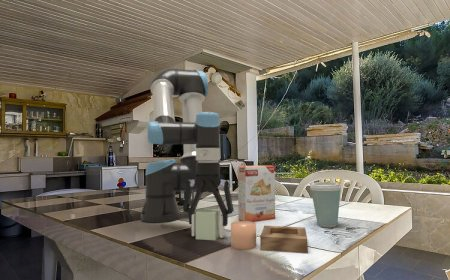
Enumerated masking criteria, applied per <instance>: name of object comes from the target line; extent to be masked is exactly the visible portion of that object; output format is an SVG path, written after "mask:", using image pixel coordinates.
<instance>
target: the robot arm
mask: <svg viewBox="0 0 450 280" xmlns="http://www.w3.org/2000/svg"><path fill="white" fill-rule="evenodd" d="M150 93H151V95H152V97H153V98H152V99H153V100H152V104H153V105H152V107H153V108H152V109H153V110H152V111H153V112H152V113H153V114H152V115H153V116H152V117H153V120H152V121H149V122H147V142H148V144H151V145H152V144H153V145H158V146H159V145H183V155H182V156H180V159H179V160H180V161H179V162H177V161H176V159H175V158H172V159H163V160H157V161H152V162H148V163H147V164H146V165H145V174H144V176H145V201H144V204H143V207H142V210H141V212H140V220H141V221H142V222H144V223H145V222H146V223H166V222H167V223H168V222H173V221H176V220H179V219H180V216H181V215H180V213H181V212H180V209H179V206H178V203H177V200H176V192H185V196H184V201H183V208H182V211H183V212H184V213H187V214H188V224H189V225H191V237H196V209H197V207H198V204H199V202H200V199H201V197H202V195H203V193H211V194H212V195H213V196H214V198H215V201H216V203H217V205H218V207H219V209H220V213H221V214H220V235H219V238H220V239H223V238H224V237H225V236H226V235H225V233H226V232H225V230H226V229H225V227H227V226H228V222H229V219H228V217H229V216H228V215H230V214H232V213H233V212H234V210H235V209H234V205H233V201H232V200H233V199H232V194H231V190H230V185H231V181H230V180H229V179H227V180H225V179H222V178H221V163H220V162H219V161H220V160H221V152H220V151H221V150H220V148H221V147H220V145H221V143H220V140H221V139H220V135H221V134H220V133H221V131H220V127H221V123H220V121H221V120H220V114H219V113H217V112H212V111H203V102H204V101H205V100H206V97H208V94H209V79H208V76H207V74H206V73H205V72H204V71H203V70H197V69H181V68H167V69H163V70H162V71H160V72H158V73H157V74H155V76H154V78H153V79H152V80H151V83H150ZM173 96H178V100H179V102H181V104H182V121H176V118H175V109H174V100H173ZM220 185H221V186H222V187H223V192H224V196H225V202H224V200H223V197H222V196H221V193H220V190H219V187H220ZM193 191H196V192H195V193H196V194H195V196H194V198H193V200H192V194H193ZM191 200H192V202H191Z"/></svg>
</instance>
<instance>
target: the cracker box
mask: <svg viewBox="0 0 450 280" xmlns="http://www.w3.org/2000/svg"><path fill="white" fill-rule="evenodd" d="M237 169H238V170H237V171H238V172H237V173H238V174H237V175H238V177H237V178H238V179H237V180H238V181H237V183H238V184H237V188H238V192H237V193H238V195H237V198H238V199H237V200H238V203H237V204H238V206H237V207H238V208H237V211H238V215H237V217H238V218H237V219H238V221H251V222H257V221H264V220H265V221H267V220H274V219H276V166H275V165H241V166H240V165H238V167H237Z"/></svg>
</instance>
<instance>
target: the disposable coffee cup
mask: <svg viewBox="0 0 450 280" xmlns="http://www.w3.org/2000/svg"><path fill="white" fill-rule="evenodd" d="M309 188H310V191H311V197H312V202H313V207H314V211H315V213H314V214H315V217H316V223H317V224H318V227H321V228H335V227H337V225H338V223H339V211H340V210H339V209H340V200H341V190H342V188H341V186H340V184H339V182H335V181H319V182H318V181H317V182H313V183H311V185H310V187H309Z"/></svg>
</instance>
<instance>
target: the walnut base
mask: <svg viewBox="0 0 450 280" xmlns="http://www.w3.org/2000/svg"><path fill="white" fill-rule="evenodd" d="M260 233H261V234H260V238H259V240H260V242H259V244H260V246H259V247H260V248H259V249H260V251H269V252H270V251H271V252H273V251H274V252H287V253H302V254H308V250H309V249H308V235H307V230H306V227H305V226H304V227H301V226H281V225H263V228H262V231H261V232H260Z"/></svg>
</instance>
